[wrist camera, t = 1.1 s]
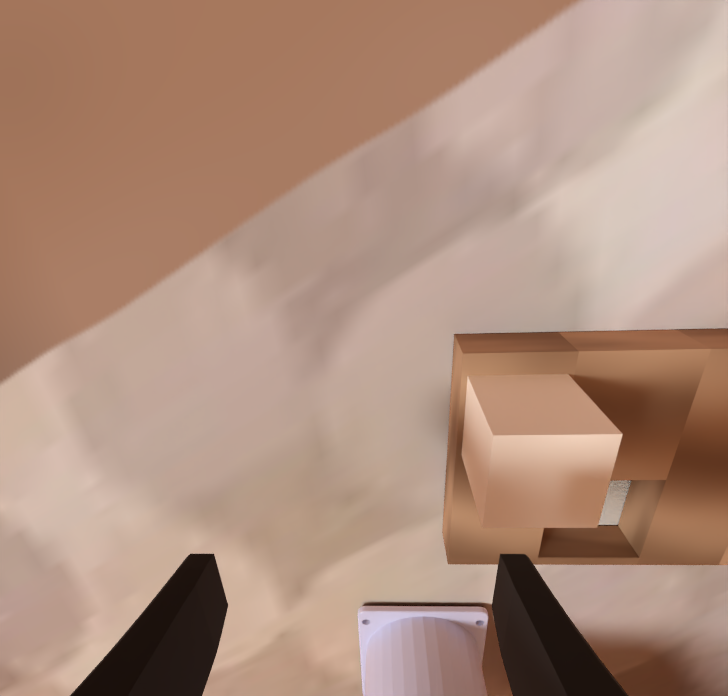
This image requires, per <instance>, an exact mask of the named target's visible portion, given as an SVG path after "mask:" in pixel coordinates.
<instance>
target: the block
mask: <svg viewBox="0 0 728 696" xmlns="http://www.w3.org/2000/svg"><path fill="white" fill-rule="evenodd" d="M622 435H623V434H622V433H621V432H620V431H619V429H618V428H617V427H616V426H615V425H614V424H613V423H612V422H611V421H610V420H609V418H608V417H607V416H606V415H605V414H604V413H603V412H602V411H601V410H600V409H599V407H598V406H597V405H596V404H595V403H594V402H593V401H592V400H591V399H590V398H589V396H588V395H587V394H586V393H585V392H584V391H583V390H582V389H581V388H580V387H579V385H578V384H577V383H576V382H575V381H574V380H573V379H572V378H571V377H570V376H569V374H546V375H486V376H468V378H467V391H466V404H465V416H464V429H463V442H462V459H463V462H464V466H465V469H466V472H467V476H468V479H469V483H470V486H471V490H472V493H473V497H474V500H475V504H476V507H477V511H478V514H479V517H480V521H481V524H482V528H597V527H598V523H599V520H600V516H601V512H602V509H603V505H604V501H605V498H606V494H607V490H608V487H609V483H610V479H611V476H612V472H613V468H614V464H615V461H616V457H617V453H618V450H619V446H620V442H621V439H622Z"/></svg>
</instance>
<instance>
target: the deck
mask: <svg viewBox="0 0 728 696" xmlns="http://www.w3.org/2000/svg"><path fill="white" fill-rule="evenodd" d="M546 374H569V376H570V377H571V378H572V379H573V380H574V381H575V382H576V383H577V384H578V385H579V387H580V388H581V389H582V390H583V391H584V392H585V393H586V394H587V395H588V396H589V398H590V399H591V400H592V401H593V402H594V403H595V404H596V405H597V406H598V407H599V409H600V410H601V411H602V412H603V413H604V414H605V415H606V416H607V417H608V418H609V420H610V421H611V422H612V423H613V424H614V425H615V426H616V427H617V428H618V429H619V431H620V432H621V433H622V434H623V435H622V439H621V442H620V446H619V450H618V453H617V457H616V461H615V464H614V468H613V472H612V476H611V479H610V480H632V481H631V484H630V487H629V491H628V494H627V497H626V501H625V504H624V507H623V511H622V514H621V517H620V521H619V524H618V526H598V527H597V528H482V524H481V521H480V517H479V514H478V511H477V507H476V504H475V500H474V497H473V493H472V490H471V486H470V483H469V479H468V476H467V472H466V469H465V466H464V462H463V459H462V442H463V429H464V416H465V404H466V391H467V378H468V376H486V375H546ZM442 533H443V538H444V544H445V549H446V555H447V561H448V564H499V557H500V554H526V555H527V556H528V557H529V558H530V560H531V562H532V563H533V564H567V565H728V329H688V330H641V331H593V332H545V333H497V334H454V349H453V365H452V382H451V399H450V415H449V432H448V449H447V465H446V482H445V499H444V515H443V532H442Z"/></svg>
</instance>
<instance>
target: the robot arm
mask: <svg viewBox="0 0 728 696" xmlns="http://www.w3.org/2000/svg"><path fill="white" fill-rule="evenodd" d="M227 608H228V603H227V600H226V596H225V593H224V589H223V585H222V582H221V578H220V574H219V571H218V567H217V564H216V560H215V556H214V554H190V555H189V556H188V557H187V558H186V559H185V560H184V562H183V563H182V564H181V565H180V567H179V568H178V569H177V570H176V572H175V573H174V574H173V575H172V577H171V578H170V579H169V580H168V582H167V583H166V584H165V586H164V587H163V588H162V589H161V591H160V592H159V593H158V594H157V596H156V597H155V598H154V599H153V600H152V602H151V603H150V604H149V605H148V607H147V608H146V609H145V610H144V612H143V613H142V614H141V615H140V616H139V618H138V619H137V620H136V621H135V622H134V623H133V625H132V626H131V627H130V628H129V629H128V631H127V632H126V633H125V634H124V635H123V637H122V638H121V639H120V640H119V641H118V642H117V644H116V645H115V646H114V647H113V648H112V650H111V651H110V652H109V653H108V654H107V655H106V656H105V657H104V659H103V660H102V661H101V662H100V663H99V664H98V665H97V666H96V667H95V669H94V670H93V671H92V672H91V673H90V674H89V675H88V676H87V677H86V679H85V680H84V681H83V682H82V683H81V684H80V685H79V686H78V688H77V689H76V690H75V691H74V692H73V693H72V694H71V695H70V696H202V694H203V691H204V688H205V685H206V683H207V680H208V677H209V674H210V671H211V668H212V665H213V662H214V659H215V656H216V653H217V649H218V645H219V641H220V638H221V634H222V629H223V625H224V621H225V616H226V612H227ZM492 610H493V615H494V621H495V626H496V631H497V636H498V641H499V646H500V651H501V656H502V659H503V663H504V666H505V670H506V673H507V676H508V680H509V683H510V687H511V690H512V694H513V696H628V695H627V693H626V692H625V691H624V690H623V688H622V687H621V686H620V685H619V683H618V682H617V681H616V680H615V678H614V677H613V676H612V674H611V673H610V672H609V671H608V669H607V668H606V667H605V665H604V664H603V663H602V662H601V660H600V659H599V658H598V656H597V655H596V654H595V652H594V651H593V649H592V648H591V647H590V645H589V644H588V643H587V641H586V640H585V639H584V637H583V636H582V635H581V633H580V632H579V631H578V629H577V628H576V627H575V625H574V624H573V622H572V621H571V620H570V618H569V617H568V615H567V614H566V612H565V611H564V610H563V608H562V607H561V605H560V604H559V602H558V601H557V599H556V598H555V597H554V595H553V594H552V592H551V591H550V589H549V588H548V586H547V585H546V583H545V582H544V580H543V579H542V577H541V576H540V574H539V572H538V571H537V569H536V568H535V566H534V565H533V563H532V562H531V560H530V558H529V557H528V556H527V555H526V554H500V557H499V564H498V570H497V577H496V583H495V590H494V596H493V603H492ZM488 618H489V616H488V612H487V610H486V608H484V607H469V606H362V607H360V608H359V609H358V627H359V642H360V658H361V673H362V689H363V695H364V696H488V695H487V690H486V685H485V680H484V675H483V670H482V661H483V654H484V646H485V639H486V632H487V625H488Z"/></svg>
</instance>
